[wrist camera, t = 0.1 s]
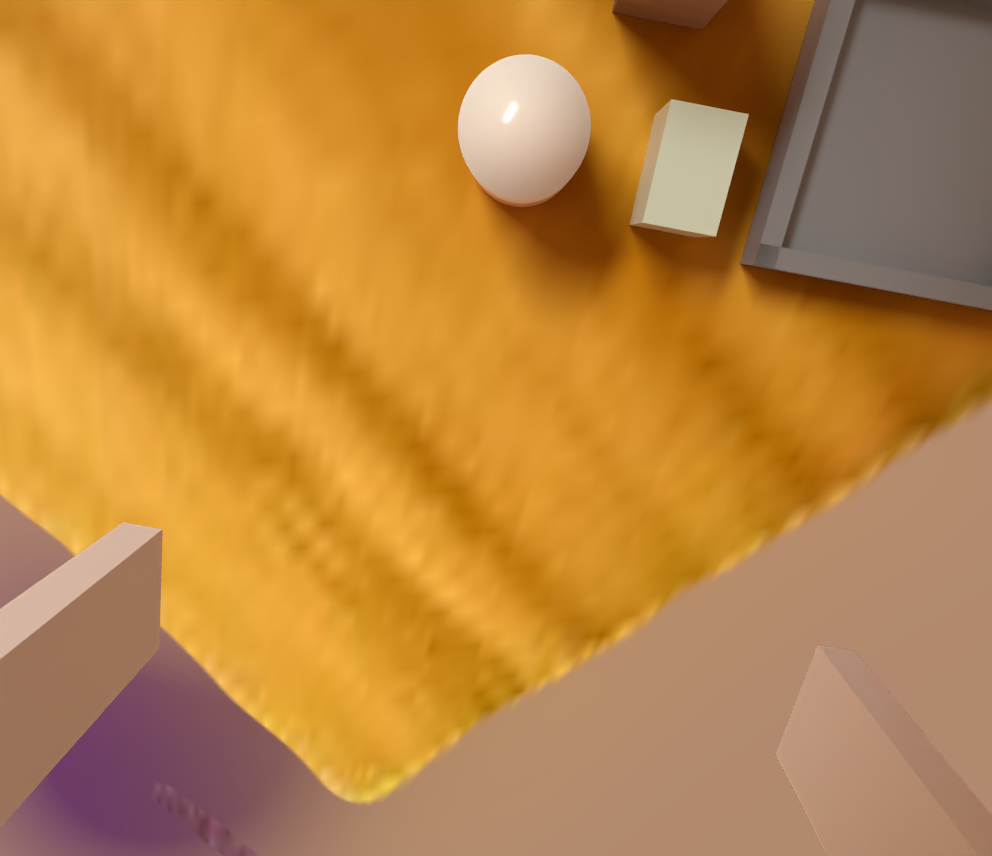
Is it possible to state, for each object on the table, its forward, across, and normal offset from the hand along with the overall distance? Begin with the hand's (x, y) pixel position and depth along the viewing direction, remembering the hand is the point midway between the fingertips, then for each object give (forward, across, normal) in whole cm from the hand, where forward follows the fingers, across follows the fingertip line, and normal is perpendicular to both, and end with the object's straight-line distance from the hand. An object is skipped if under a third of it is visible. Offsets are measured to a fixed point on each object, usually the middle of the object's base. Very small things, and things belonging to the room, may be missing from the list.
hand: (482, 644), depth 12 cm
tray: (+28, +21, +17) cm, 39 cm away
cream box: (+28, +8, +13) cm, 32 cm away
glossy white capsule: (+28, -1, +13) cm, 31 cm away
